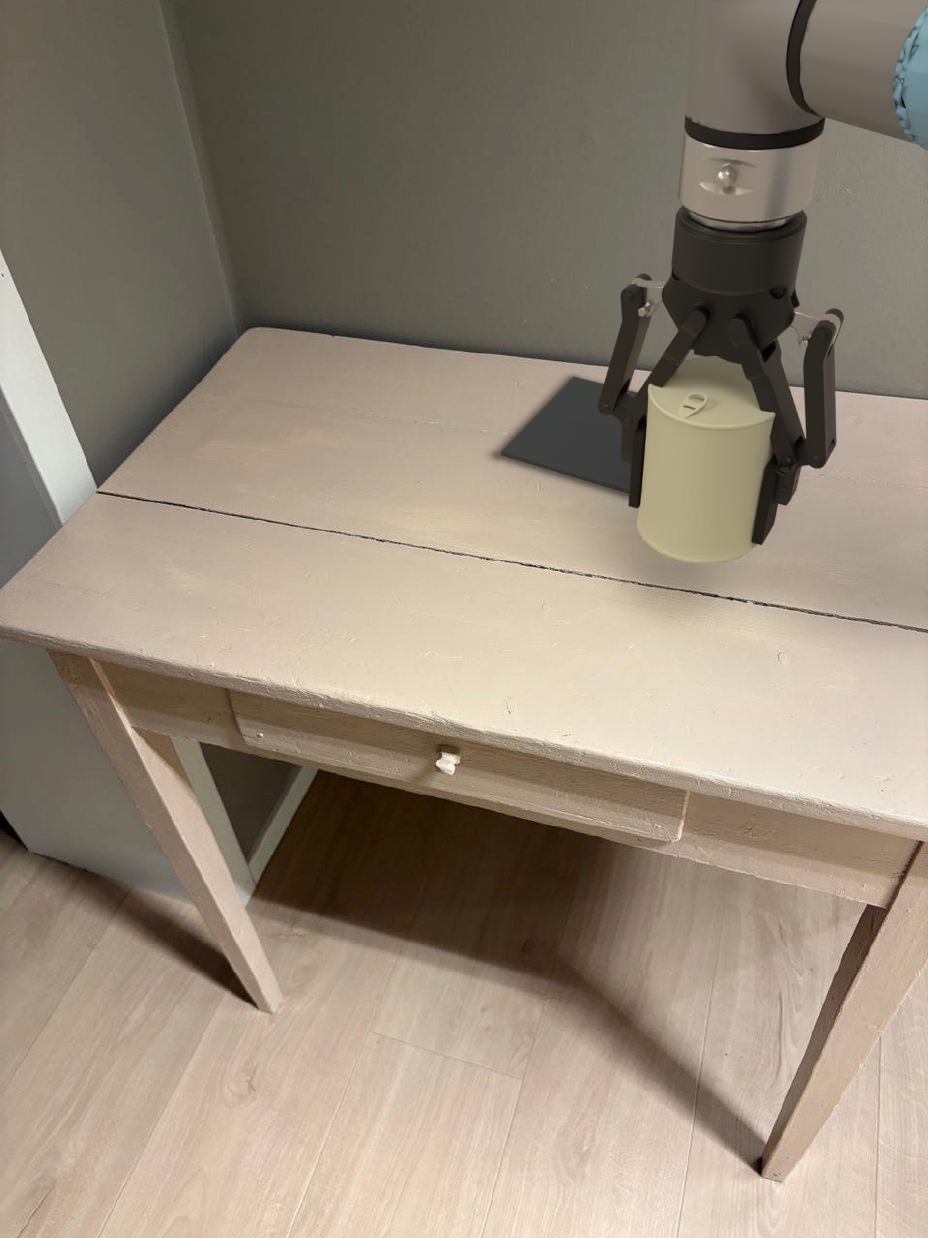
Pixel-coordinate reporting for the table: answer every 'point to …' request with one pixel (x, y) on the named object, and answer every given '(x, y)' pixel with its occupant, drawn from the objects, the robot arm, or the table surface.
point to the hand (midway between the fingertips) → (699, 514)
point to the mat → (575, 437)
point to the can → (703, 463)
